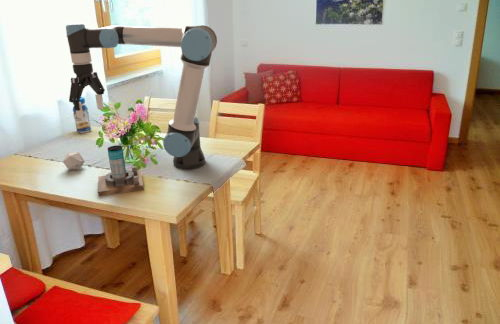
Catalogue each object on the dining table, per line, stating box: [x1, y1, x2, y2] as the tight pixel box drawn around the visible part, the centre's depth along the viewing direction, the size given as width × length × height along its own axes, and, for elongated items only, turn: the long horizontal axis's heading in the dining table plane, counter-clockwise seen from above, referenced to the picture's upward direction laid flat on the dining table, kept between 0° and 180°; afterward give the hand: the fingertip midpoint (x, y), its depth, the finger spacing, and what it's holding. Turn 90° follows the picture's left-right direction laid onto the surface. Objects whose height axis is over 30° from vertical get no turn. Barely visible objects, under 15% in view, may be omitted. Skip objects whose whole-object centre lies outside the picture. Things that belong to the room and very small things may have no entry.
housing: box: [97, 166, 144, 197], centre depth 177 cm, size 18×16×5 cm
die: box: [62, 152, 86, 171], centre depth 194 cm, size 8×9×10 cm
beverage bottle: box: [72, 96, 92, 134], centre depth 245 cm, size 8×8×20 cm
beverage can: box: [107, 144, 127, 180], centre depth 174 cm, size 6×6×15 cm
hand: (90, 113), depth 178 cm, fingers open, 13 cm apart
